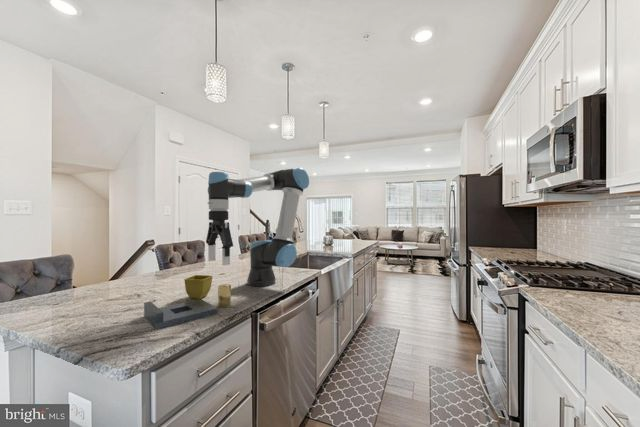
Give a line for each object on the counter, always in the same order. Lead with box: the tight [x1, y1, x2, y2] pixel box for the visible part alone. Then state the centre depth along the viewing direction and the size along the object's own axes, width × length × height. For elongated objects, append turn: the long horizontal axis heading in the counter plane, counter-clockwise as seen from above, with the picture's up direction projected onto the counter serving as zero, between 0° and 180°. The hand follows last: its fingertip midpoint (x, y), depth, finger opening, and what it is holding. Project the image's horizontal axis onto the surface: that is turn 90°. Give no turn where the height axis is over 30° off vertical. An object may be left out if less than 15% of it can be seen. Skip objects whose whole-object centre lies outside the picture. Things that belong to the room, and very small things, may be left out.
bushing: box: [217, 283, 232, 308], centre depth 108 cm, size 5×5×8 cm
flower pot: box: [184, 274, 213, 300], centre depth 119 cm, size 9×9×9 cm
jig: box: [143, 298, 219, 331], centre depth 97 cm, size 20×16×5 cm
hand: (218, 262), depth 107 cm, fingers open, 13 cm apart
